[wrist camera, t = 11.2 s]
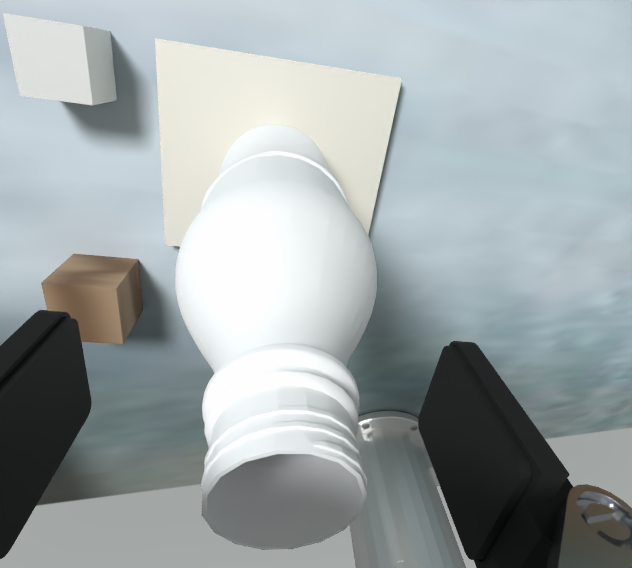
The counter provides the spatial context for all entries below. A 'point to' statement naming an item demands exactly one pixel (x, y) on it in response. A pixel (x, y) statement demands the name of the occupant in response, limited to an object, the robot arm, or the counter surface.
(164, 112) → the placemat
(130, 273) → the walnut block
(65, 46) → the pale grey block
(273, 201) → the water bottle
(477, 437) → the robot arm
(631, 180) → the counter surface
